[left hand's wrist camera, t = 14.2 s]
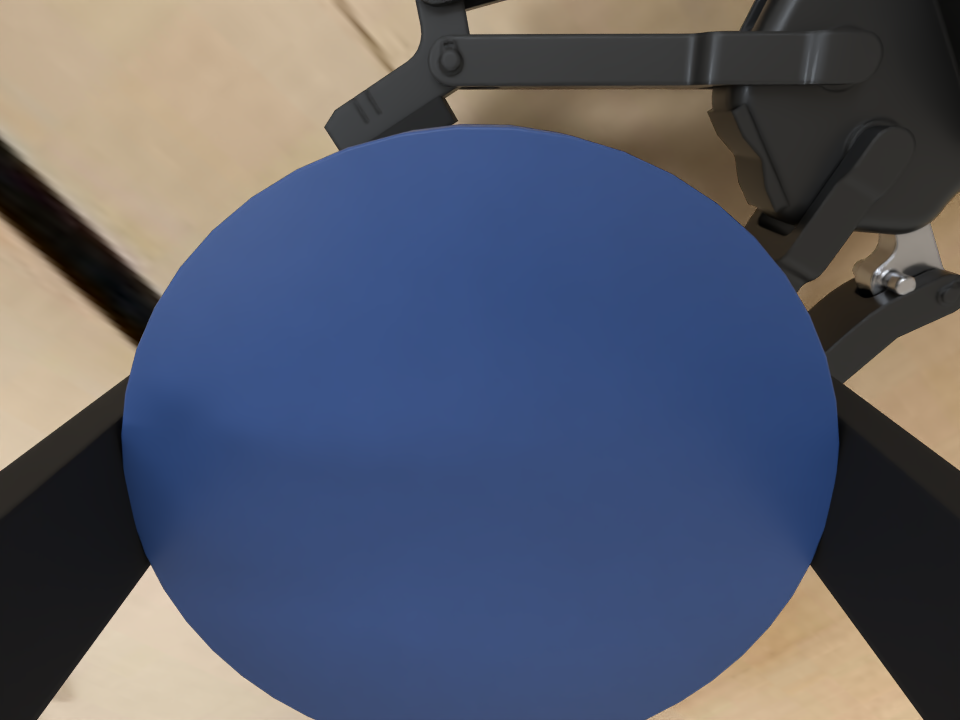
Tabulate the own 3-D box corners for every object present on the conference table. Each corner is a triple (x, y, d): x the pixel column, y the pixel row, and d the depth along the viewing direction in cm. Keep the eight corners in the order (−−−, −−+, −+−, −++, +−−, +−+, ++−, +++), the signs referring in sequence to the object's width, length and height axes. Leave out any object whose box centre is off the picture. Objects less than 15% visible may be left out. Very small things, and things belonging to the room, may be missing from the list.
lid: (44, 416, 12) (-29, 467, 10) (523, -49, 9) (533, -86, 8) (453, 755, 15) (449, 838, 13) (900, 476, 12) (968, 534, 10)
